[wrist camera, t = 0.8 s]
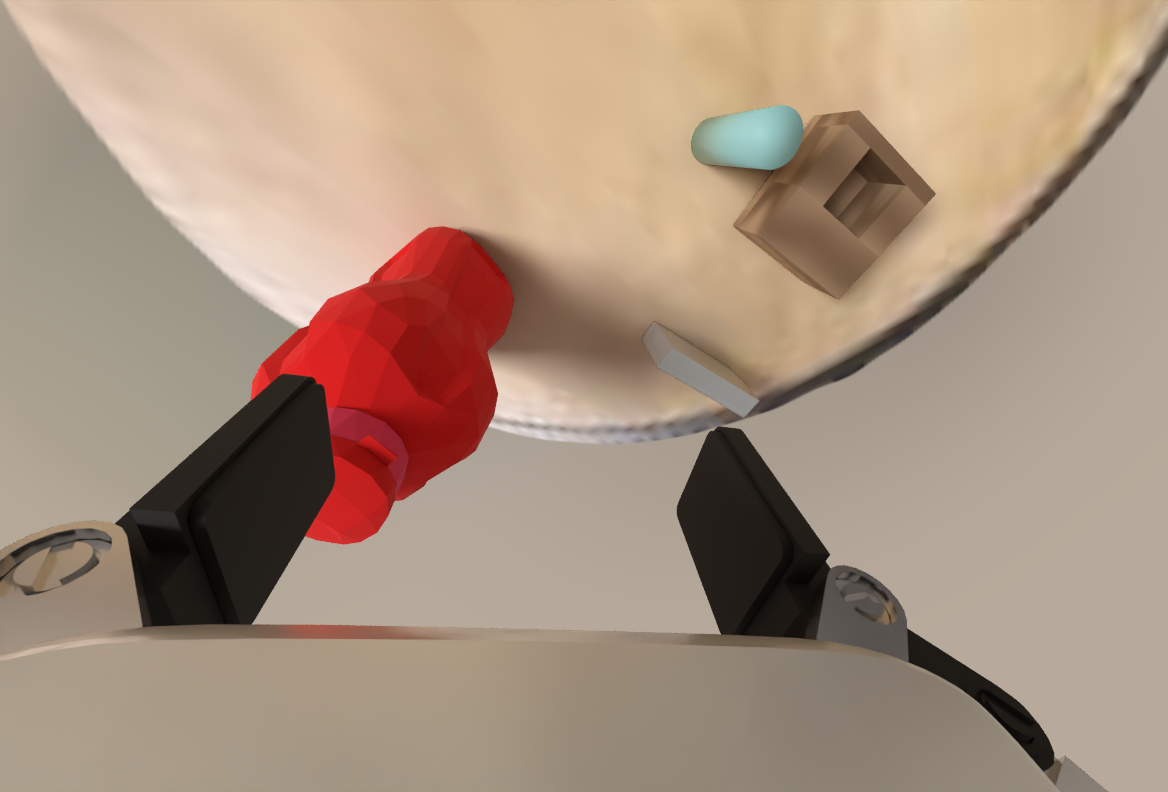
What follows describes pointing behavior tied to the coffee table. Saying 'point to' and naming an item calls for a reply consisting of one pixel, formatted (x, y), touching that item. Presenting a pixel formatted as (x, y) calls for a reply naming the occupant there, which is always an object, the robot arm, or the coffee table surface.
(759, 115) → the dowel
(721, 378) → the wall
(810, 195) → the block
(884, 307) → the coffee table surface
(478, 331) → the water bottle
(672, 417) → the coffee table surface
